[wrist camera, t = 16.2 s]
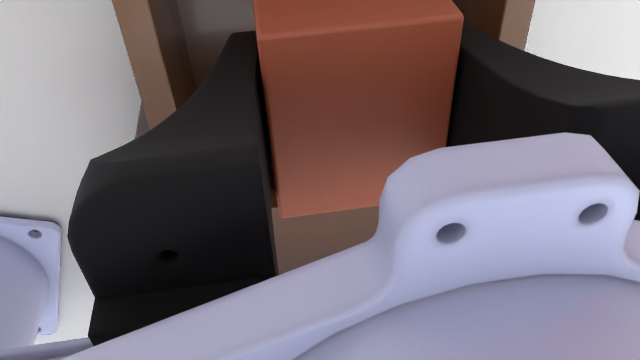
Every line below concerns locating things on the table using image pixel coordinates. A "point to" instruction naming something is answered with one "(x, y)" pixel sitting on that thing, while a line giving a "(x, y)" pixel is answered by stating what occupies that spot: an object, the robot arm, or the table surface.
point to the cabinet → (309, 228)
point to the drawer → (237, 16)
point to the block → (353, 93)
